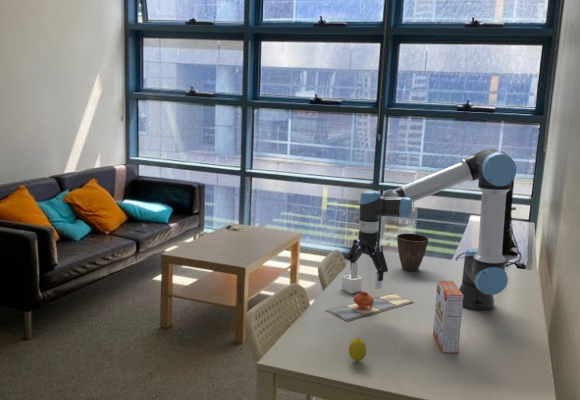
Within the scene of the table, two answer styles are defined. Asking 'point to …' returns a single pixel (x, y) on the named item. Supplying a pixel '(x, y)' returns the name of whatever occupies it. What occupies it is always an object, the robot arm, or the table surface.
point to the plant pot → (411, 250)
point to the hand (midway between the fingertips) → (365, 283)
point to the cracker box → (448, 316)
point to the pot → (363, 300)
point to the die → (351, 284)
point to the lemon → (357, 349)
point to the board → (378, 306)
